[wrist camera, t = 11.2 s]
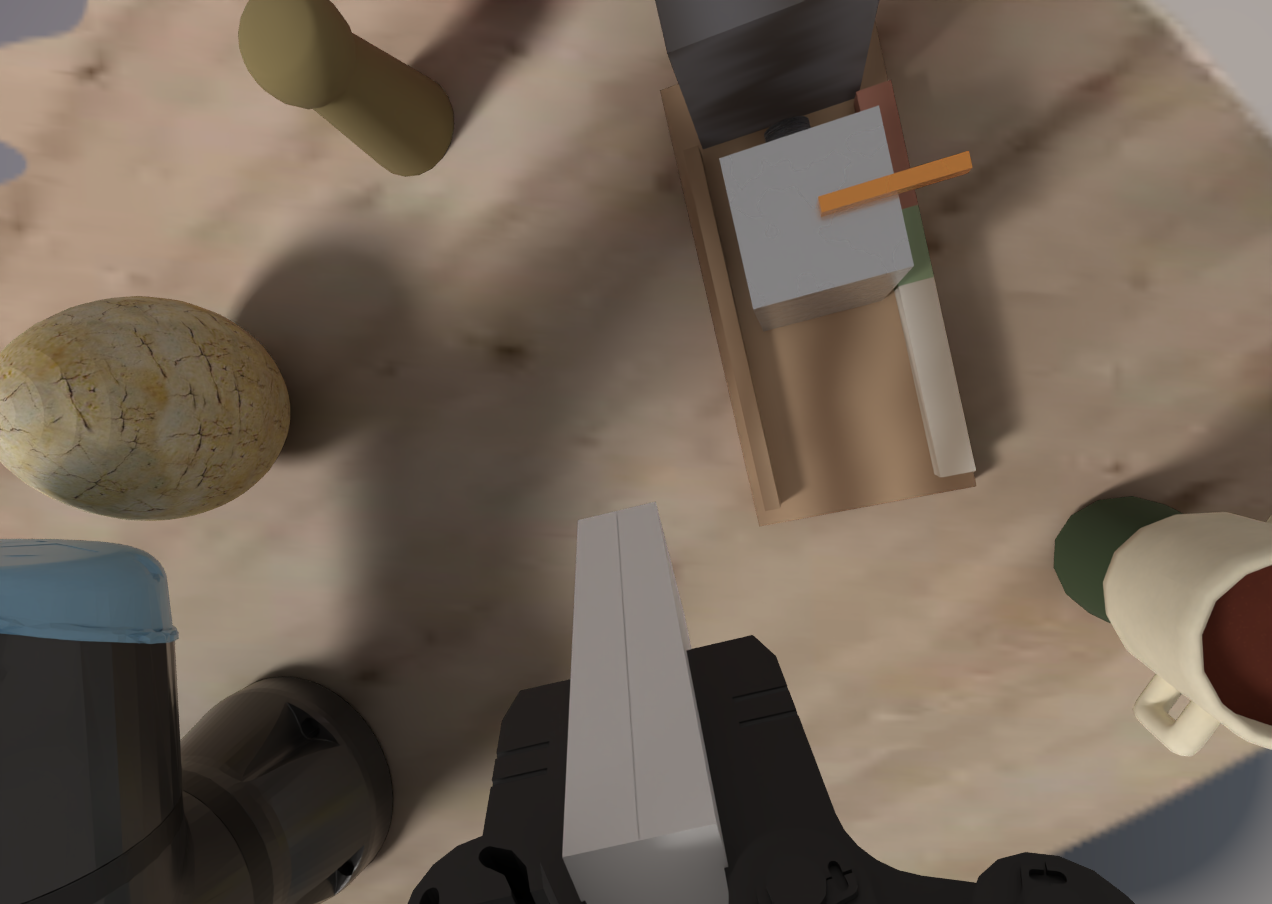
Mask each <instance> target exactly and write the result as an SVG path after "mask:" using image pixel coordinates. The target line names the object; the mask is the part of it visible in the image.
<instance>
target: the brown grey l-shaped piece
mask: <svg viewBox="0 0 1272 904" xmlns="http://www.w3.org/2000/svg"><path fill="white" fill-rule="evenodd" d="M655 1H656V6H657V10H658V14H659V19H660V23H661V28H662V32H663V36H664V41H665V45H666V50H667V54H668V56H669V59H670V62H671V65H672V67H673V70H674V73H675V75H676V78H677V81H678V84H677V85H674V86H671V87H668V88H666V89H663V90H660V92H661V96H662V101H663V105H664V110H665V114H666V118H667V123H668V127H669V132H670V136H671V140H672V145H673V149H674V154H675V158H676V162H677V167H678V171H679V175H680V180H681V184H682V189H683V193H684V197H685V202H686V206H687V211H688V215H689V219H690V224H691V228H692V233H693V237H694V241H695V246H696V250H697V255H698V259H699V263H700V268H701V272H702V276H703V281H704V285H705V290H706V294H707V298H708V303H709V307H710V312H711V316H712V320H713V325H714V329H715V334H716V338H717V342H718V347H719V351H720V356H721V360H722V364H723V369H724V373H725V378H726V382H727V386H728V391H729V395H730V399H731V404H732V408H733V413H734V417H735V421H736V426H737V430H738V435H739V439H740V443H741V448H742V452H743V457H744V461H745V465H746V470H747V474H748V479H749V483H750V487H751V492H752V496H753V500H754V505H755V509H756V514H757V518H758V522H759V526H764V525H770V524H775V523H781V522H786V521H791V520H797V519H802V518H808V517H813V516H818V515H824V514H829V513H834V512H840V511H845V510H851V509H856V508H861V507H867V506H872V505H878V504H883V503H888V502H894V501H899V500H904V499H910V498H915V497H921V496H926V495H931V494H937V493H942V492H948V491H953V490H958V489H964V488H969V487H974V486H976V481H975V477H974V472H973V471H976V468H975V463H974V459H973V454H972V450H971V445H970V440H969V436H968V431H967V427H966V422H965V417H964V413H963V408H962V404H961V399H960V395H959V390H958V385H957V381H956V376H955V372H954V367H953V362H952V358H951V353H950V349H949V344H948V339H947V335H946V330H945V326H944V321H943V316H942V312H941V307H940V303H939V298H938V293H937V289H936V284H935V280H934V275H933V270H932V266H931V261H930V257H929V252H928V248H927V243H926V238H925V234H924V229H923V225H922V220H921V215H920V211H919V206H918V202H917V197H916V192H915V189H913V190H910V191H906V192H903V193H900V194H898V195H899V200H900V204H901V209H902V213H903V218H904V223H905V227H906V232H907V236H908V241H909V245H910V250H911V255H912V259H913V264H914V266H913V267H912V269H911V270H910V271H909V272H908V273H907V274H906V275H905V276H904V277H903V278H902V280H901V281H900V282H899V283H898V284H897V285H896V286H895V287H894V288H893V289H892V290H891V292H890V293H889V294H888V295H887V296H886V297H885V298H884V299H883V300H882V301H879V302H875V303H871V304H868V305H864V306H860V307H856V308H852V309H848V310H844V311H841V312H837V313H833V314H829V315H825V316H821V317H818V318H814V319H810V320H806V321H802V322H798V323H794V324H791V325H787V326H783V327H779V328H775V329H771V330H768V331H763V329H762V327H761V325H760V323H759V321H758V318H757V316H756V314H755V312H754V310H753V306H752V302H751V297H750V293H749V288H748V284H747V279H746V275H745V271H744V266H743V262H742V257H741V253H740V248H739V244H738V240H737V235H736V231H735V226H734V222H733V217H732V213H731V209H730V204H729V200H728V195H727V191H726V186H725V182H724V178H723V173H722V169H721V164H720V160H719V158H722V157H725V156H728V155H731V154H734V153H737V152H740V151H743V150H746V149H749V148H752V147H755V146H758V145H761V144H764V143H766V142H765V138H764V133H765V131H766V130H767V129H768V128H769V127H771V126H772V125H774V124H775V123H777V122H779V121H782V120H784V119H787V118H790V117H795V116H805V117H808V118H809V122H810V126H811V128H812V127H815V126H818V125H821V124H824V123H827V122H830V121H833V120H836V119H839V118H842V117H845V116H848V115H852V114H855V113H858V112H861V111H864V110H867V109H870V108H873V107H876V106H879V108H880V113H881V117H882V122H883V126H884V131H885V136H886V140H887V145H888V149H889V154H890V159H891V163H892V168H893V172H894V173H897V172H900V171H904V170H907V169H910V165H909V160H908V156H907V151H906V146H905V142H904V137H903V133H902V128H901V123H900V119H899V114H898V110H897V105H896V101H895V96H894V91H893V87H892V82H891V80H889V81H888V77H887V73H886V68H885V64H884V59H883V54H882V50H881V45H880V41H879V36H878V31H877V27H876V22H875V17H876V12H877V7H878V3H879V0H655Z"/></svg>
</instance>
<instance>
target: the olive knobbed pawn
mask: <svg viewBox="0 0 1272 904" xmlns="http://www.w3.org/2000/svg"><path fill="white" fill-rule="evenodd" d="M238 38H239V49H240V52H241V55H242V58H243V60H244V63H245V65H246V67H247V69H248V71H249V73H250V74H251V75H252V77H253V78H254V79H255V81H256V82H257V83H258V84H259V85H260V86H261V87H262V88H263V89H264V90H265V91H266V92H268V93H269V94H270V95H272V96H273V97H275V98H276V99H278V100H280V101H282V102H283V103H285V104H288V105H292V106H297V107H301V108H305V109H314V110H315V111H316V112H317V113H318V114H320V115H321V116H322V117H323V118H324V119H326V120H327V121H328V122H329V123H330V124H332V125H333V126H334V127H335V128H336V129H338V130H339V131H340V132H341V133H342V134H344V135H345V136H346V137H347V138H348V139H350V140H351V141H352V142H353V143H354V144H356V145H357V146H358V147H359V148H361V149H362V150H363V151H364V152H365V153H367V154H368V155H369V156H370V157H371V158H373V159H374V160H375V161H376V162H377V163H379V164H380V165H381V166H382V167H384V168H385V169H387V170H388V171H390V172H391V173H393V174H397V175H401V176H405V177H406V176H415V175H420V174H422V173H424V172H426V171H428V170H430V169H432V168H433V167H434V166H435V165H436V164H437V163H438V162H439V161H440V160H441V159H442V158H443V156H444V154H445V152H446V151H447V149H448V147H449V145H450V143H451V138H452V134H453V130H454V118H453V109H452V106H451V104H450V101H449V98H448V96H447V94H446V93H445V92H444V90H443V89H442V88H441V86H440V85H439V84H437V83H436V82H434V81H433V80H431V79H430V78H428V77H427V76H425V75H423V74H422V73H420V72H418V71H416V70H415V69H413V68H411V67H410V66H408V65H406V64H405V63H403V62H401V61H399V60H398V59H396V58H394V57H393V56H391V55H389V54H388V53H386V52H384V51H382V50H381V49H379V48H377V47H376V46H374V45H372V44H370V43H369V42H367V41H365V40H364V39H362V38H360V37H359V36H357V35H355V34H353V33H352V32H351V29H350V26H349V25H348V23H347V22H346V20H345V19H344V17H343V16H342V15H341V13H340V12H339V11H338V9H337V8H336V7H335V5H334V4H333V3H332V2H331V1H329V0H249V2H248V3H247V5H246V7H245V9H244V11H243V14H242V16H241V19H240V25H239V31H238Z"/></svg>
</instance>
